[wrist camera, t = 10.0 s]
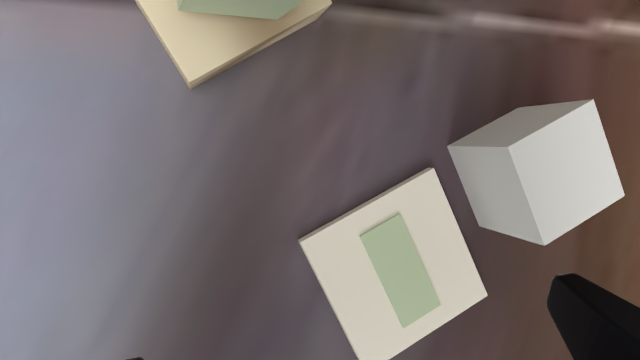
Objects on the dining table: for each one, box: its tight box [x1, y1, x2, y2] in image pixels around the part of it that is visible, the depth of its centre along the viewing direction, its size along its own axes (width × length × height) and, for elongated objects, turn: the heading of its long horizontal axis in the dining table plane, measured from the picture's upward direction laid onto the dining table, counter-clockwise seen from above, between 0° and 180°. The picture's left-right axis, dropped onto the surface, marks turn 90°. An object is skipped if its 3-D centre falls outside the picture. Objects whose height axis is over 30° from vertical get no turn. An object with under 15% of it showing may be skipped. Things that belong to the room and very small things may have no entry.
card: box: [298, 167, 488, 360], centre depth 23 cm, size 8×8×1 cm
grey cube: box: [447, 99, 625, 246], centre depth 23 cm, size 5×5×5 cm
